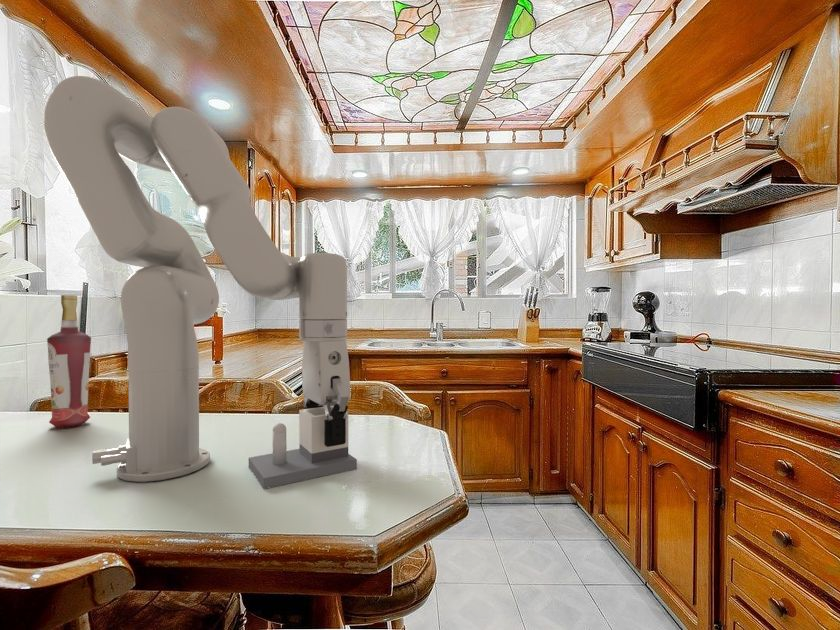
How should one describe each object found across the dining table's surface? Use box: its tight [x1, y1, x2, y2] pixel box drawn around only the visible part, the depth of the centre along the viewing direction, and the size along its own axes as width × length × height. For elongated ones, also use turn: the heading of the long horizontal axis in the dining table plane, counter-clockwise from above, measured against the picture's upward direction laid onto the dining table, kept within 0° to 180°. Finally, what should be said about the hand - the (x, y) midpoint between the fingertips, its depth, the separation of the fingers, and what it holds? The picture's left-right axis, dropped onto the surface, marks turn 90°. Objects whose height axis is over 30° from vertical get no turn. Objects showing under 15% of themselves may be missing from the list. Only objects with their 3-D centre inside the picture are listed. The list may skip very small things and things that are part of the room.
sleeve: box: [298, 406, 349, 463], centre depth 70 cm, size 6×6×7 cm
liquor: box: [46, 294, 92, 429], centre depth 93 cm, size 7×7×28 cm
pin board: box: [248, 422, 358, 489], centre depth 68 cm, size 14×10×8 cm
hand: (323, 437), depth 70 cm, fingers open, 9 cm apart
